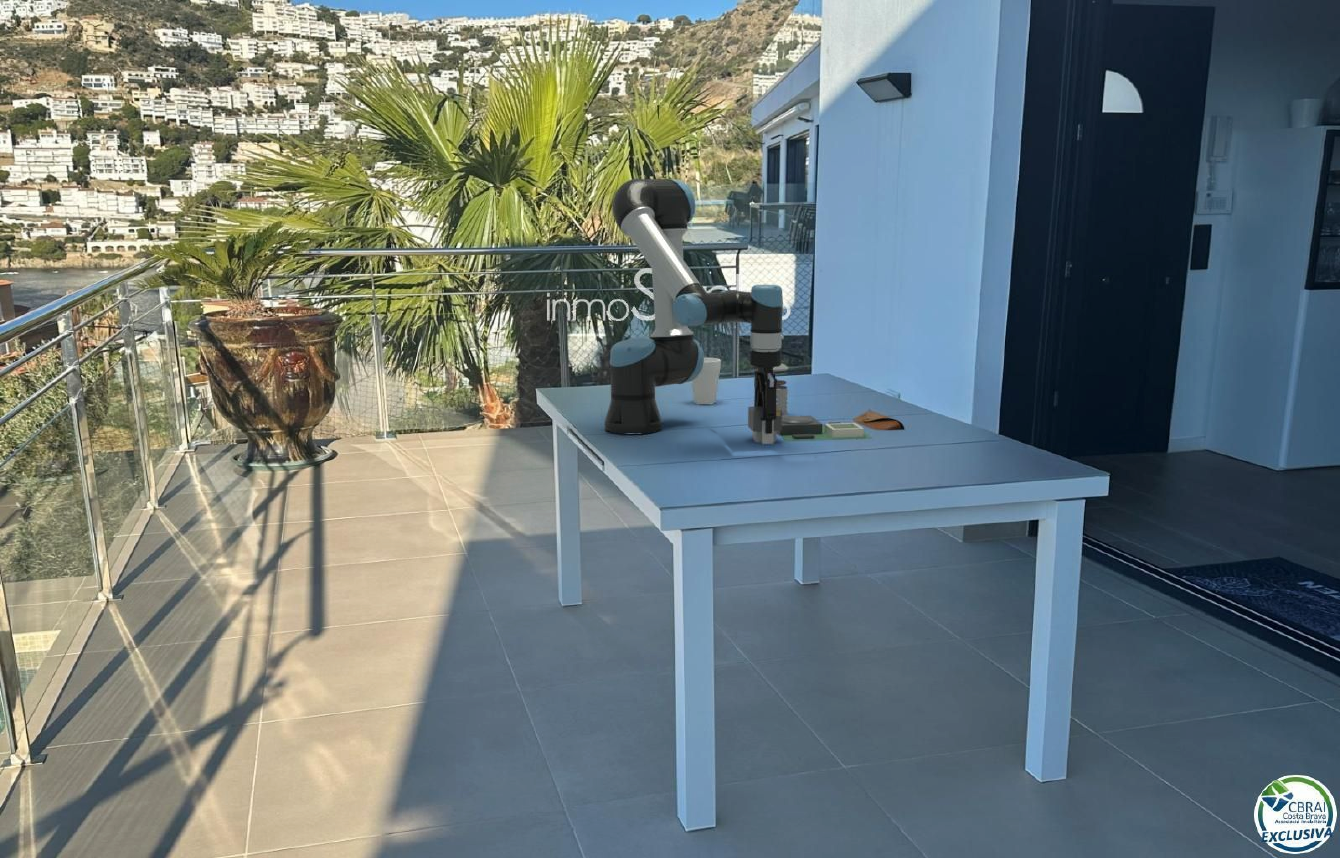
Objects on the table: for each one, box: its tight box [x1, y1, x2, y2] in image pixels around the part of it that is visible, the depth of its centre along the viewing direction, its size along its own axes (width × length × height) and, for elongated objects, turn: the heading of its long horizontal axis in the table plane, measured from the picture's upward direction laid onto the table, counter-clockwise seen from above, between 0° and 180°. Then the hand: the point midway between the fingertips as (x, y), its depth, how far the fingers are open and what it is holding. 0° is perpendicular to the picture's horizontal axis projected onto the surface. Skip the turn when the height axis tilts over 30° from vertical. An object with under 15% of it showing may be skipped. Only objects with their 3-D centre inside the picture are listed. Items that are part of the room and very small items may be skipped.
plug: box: [747, 406, 783, 443], centre depth 252 cm, size 7×6×9 cm
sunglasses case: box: [852, 409, 905, 431], centre depth 271 cm, size 18×7×7 cm, turn 18°
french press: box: [753, 362, 789, 416], centre depth 286 cm, size 10×12×25 cm
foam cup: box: [691, 357, 722, 405], centre depth 307 cm, size 10×9×13 cm
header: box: [824, 422, 865, 438], centre depth 258 cm, size 8×7×2 cm
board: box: [776, 421, 873, 442], centre depth 261 cm, size 22×18×3 cm
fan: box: [776, 415, 824, 436], centre depth 264 cm, size 11×11×3 cm
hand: (764, 442), depth 253 cm, fingers closed on plug, 6 cm apart
